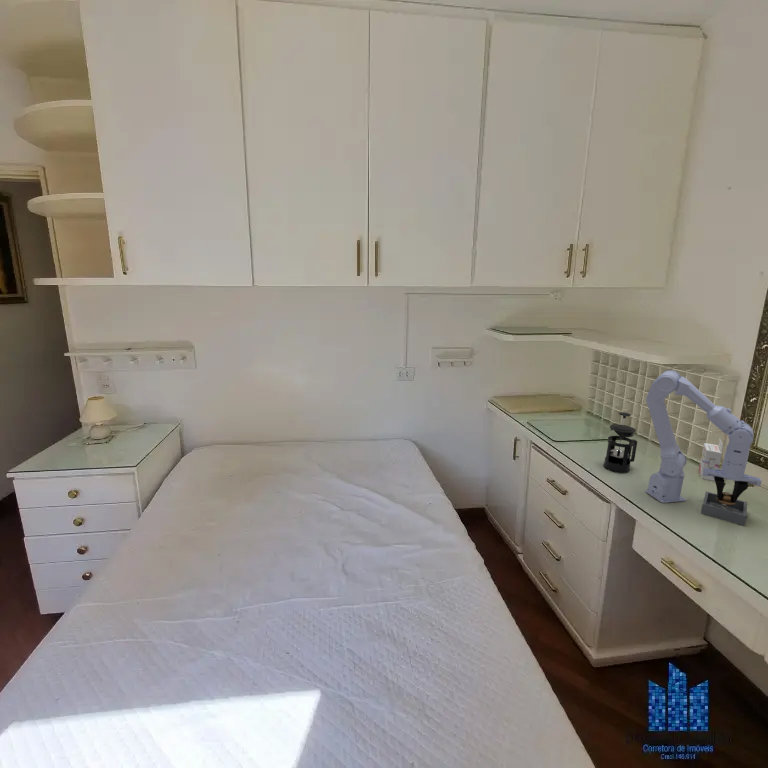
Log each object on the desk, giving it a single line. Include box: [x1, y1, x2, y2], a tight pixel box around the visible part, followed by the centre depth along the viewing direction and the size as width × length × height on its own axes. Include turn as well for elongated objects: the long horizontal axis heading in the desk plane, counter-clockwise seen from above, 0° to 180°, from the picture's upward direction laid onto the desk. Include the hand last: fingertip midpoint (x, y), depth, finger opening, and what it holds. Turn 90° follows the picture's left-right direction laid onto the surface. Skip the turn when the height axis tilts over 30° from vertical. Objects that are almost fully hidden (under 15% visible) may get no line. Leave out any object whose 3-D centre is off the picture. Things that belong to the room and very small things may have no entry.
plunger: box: [709, 491, 739, 513], centre depth 141 cm, size 8×8×6 cm
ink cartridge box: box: [698, 438, 724, 482], centre depth 166 cm, size 9×5×15 cm, turn 151°
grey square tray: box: [700, 490, 748, 527], centre depth 141 cm, size 11×11×4 cm
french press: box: [603, 411, 638, 474], centre depth 170 cm, size 12×9×23 cm
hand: (725, 500), depth 141 cm, fingers closed on plunger, 3 cm apart
